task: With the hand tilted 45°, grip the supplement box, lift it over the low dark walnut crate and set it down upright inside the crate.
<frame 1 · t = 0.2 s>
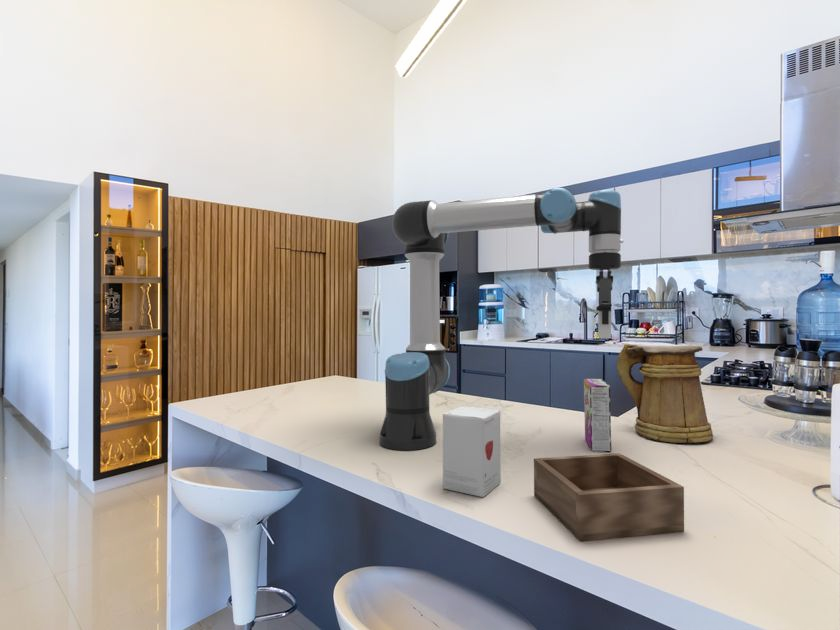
hand: (604, 337, 116), 28 cm above the countertop, tool pointing down, fingers open, 13 cm apart
crate: (602, 511, 79), on the countertop
tankard: (663, 435, 127), on the countertop
candy bar box: (597, 446, 118), on the countertop
supplement box: (472, 487, 92), on the countertop
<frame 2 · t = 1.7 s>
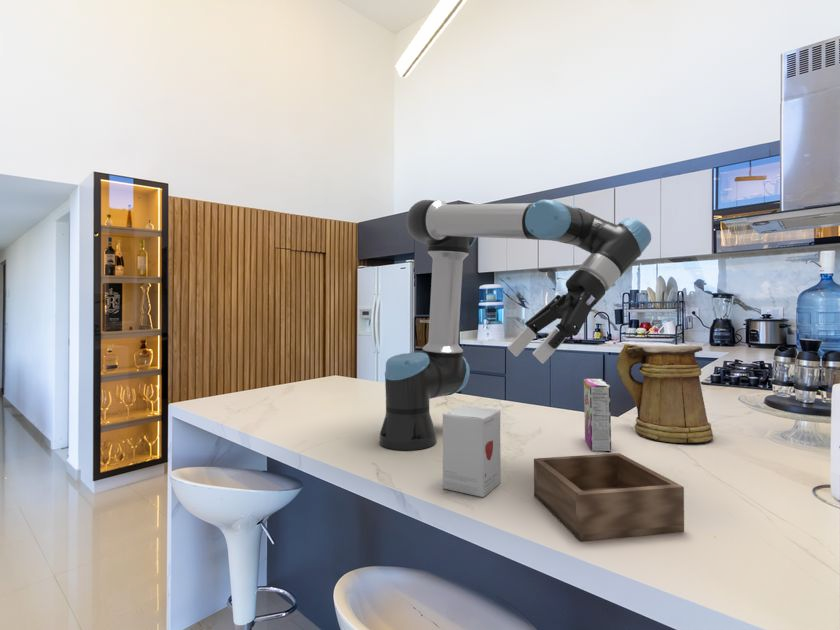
hand: (523, 355, 93), 26 cm above the countertop, tool tilted 45°, fingers open, 13 cm apart
nothing on the countertop moved.
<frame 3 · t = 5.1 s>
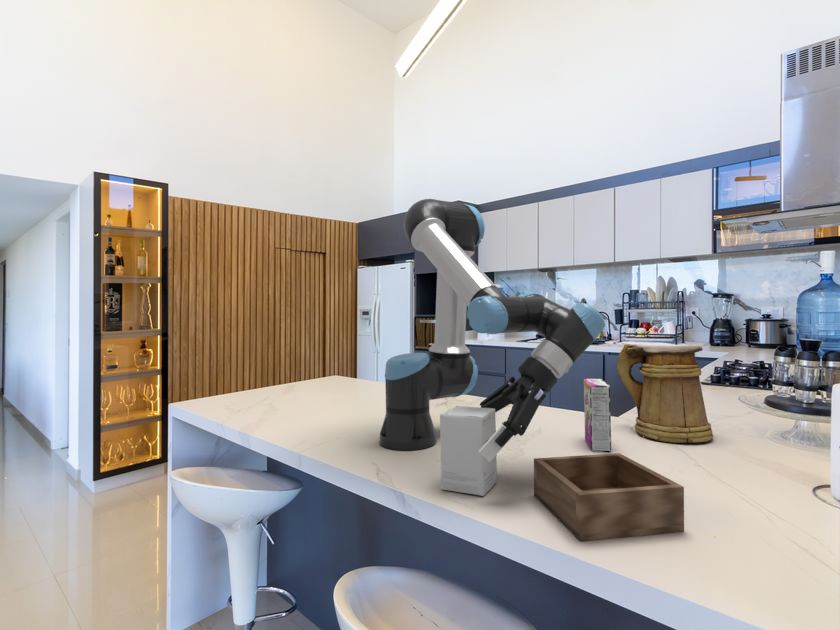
hand: (473, 446, 91), 8 cm above the countertop, tool tilted 45°, fingers open, 13 cm apart
supplement box: (470, 486, 92), on the countertop, touching gripper
everything else where it was.
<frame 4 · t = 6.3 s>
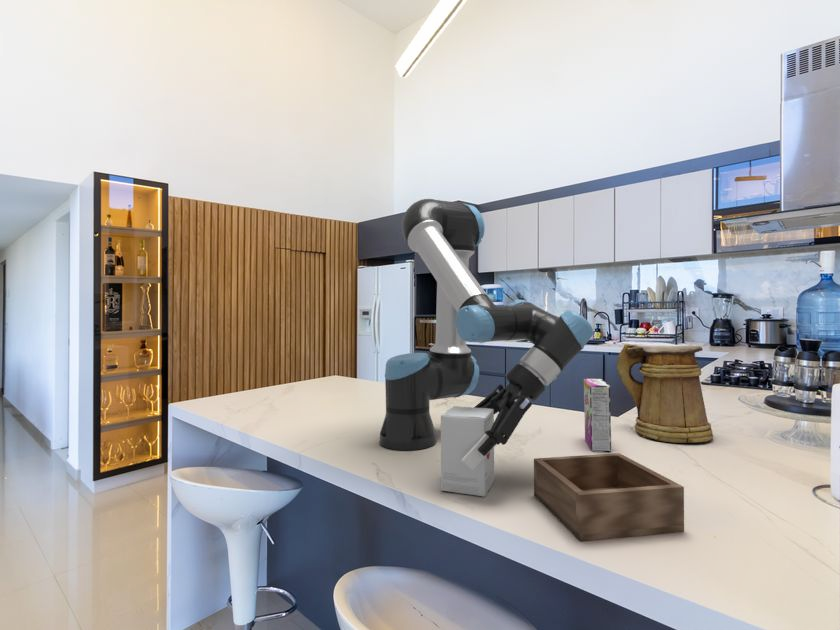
hand: (459, 454, 91), 6 cm above the countertop, tool tilted 45°, fingers closed on supplement box, 12 cm apart
supplement box: (468, 487, 92), on the countertop, touching gripper
everything else where it was.
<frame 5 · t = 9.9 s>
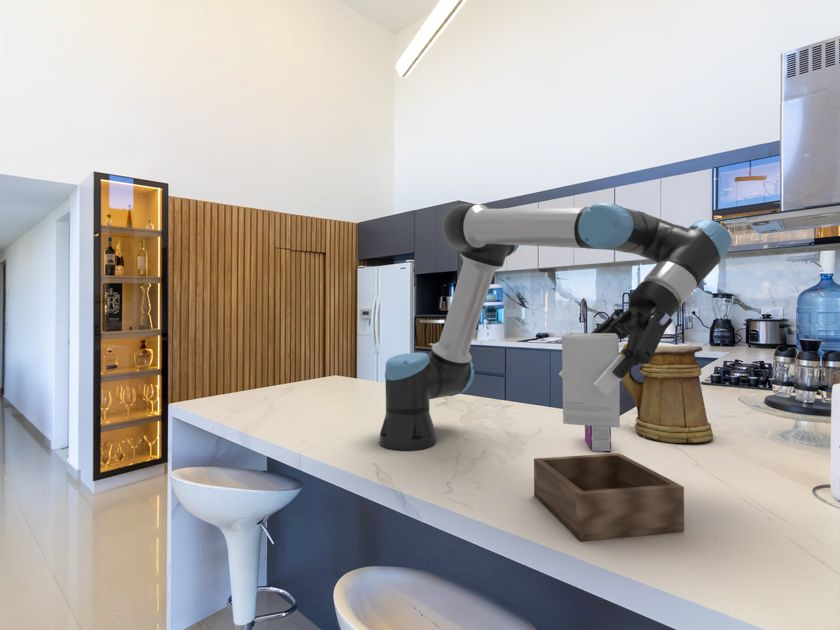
hand: (580, 384, 79), 22 cm above the countertop, tool tilted 45°, fingers closed on supplement box, 12 cm apart
supplement box: (591, 421, 79), point 16 cm above the countertop, touching gripper
everything else where it was.
when the fingers open (9 cm above the countertop, at t = 13.5 s): supplement box drops 1 cm, resting on crate.
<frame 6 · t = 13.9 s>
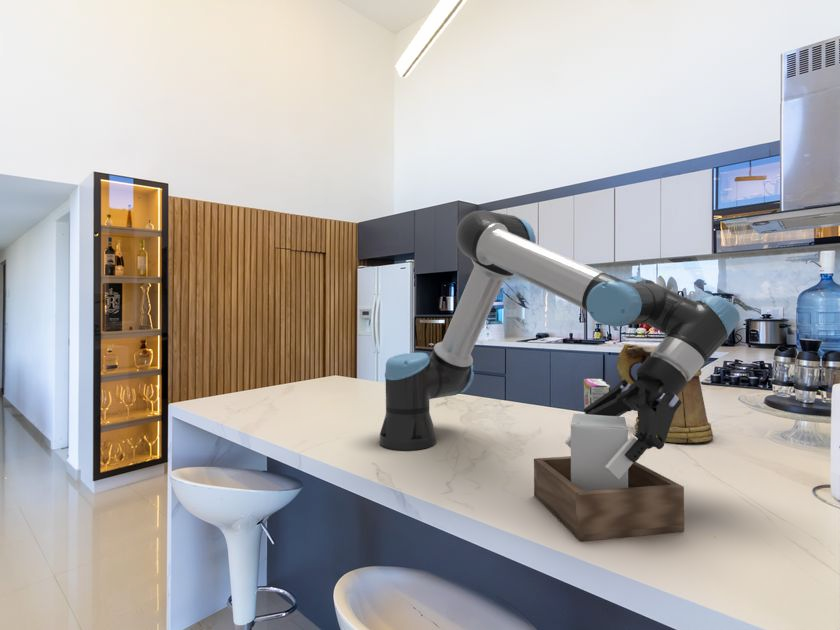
hand: (589, 459, 79), 9 cm above the countertop, tool tilted 45°, fingers open, 13 cm apart
supplement box: (599, 507, 79), point 1 cm above the countertop, touching crate
everything else where it was.
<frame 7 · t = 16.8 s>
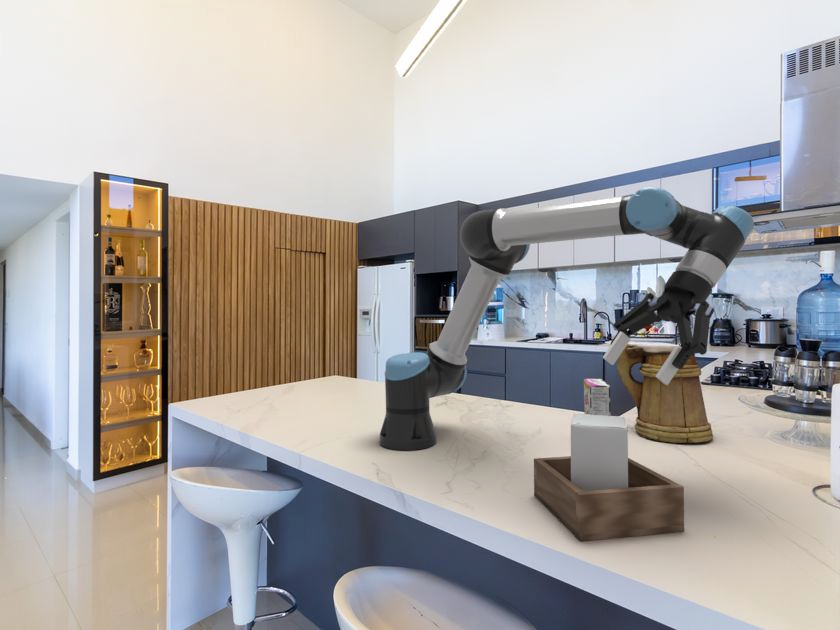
hand: (632, 370, 87), 23 cm above the countertop, tool tilted 35°, fingers open, 13 cm apart
nothing on the countertop moved.
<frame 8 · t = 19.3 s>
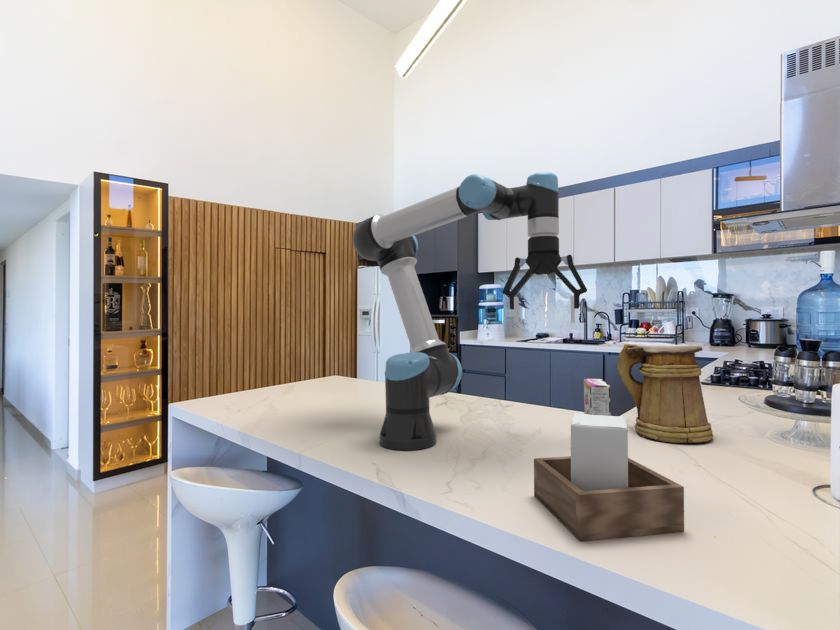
hand: (544, 322, 114), 32 cm above the countertop, tool pointing down, fingers open, 13 cm apart
nothing on the countertop moved.
at the end: supplement box inside the target area on the crate (0.6 cm from its centre), point 0.8 cm above the crate's base; supplement box tilted 0°; the gripper is holding nothing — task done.
